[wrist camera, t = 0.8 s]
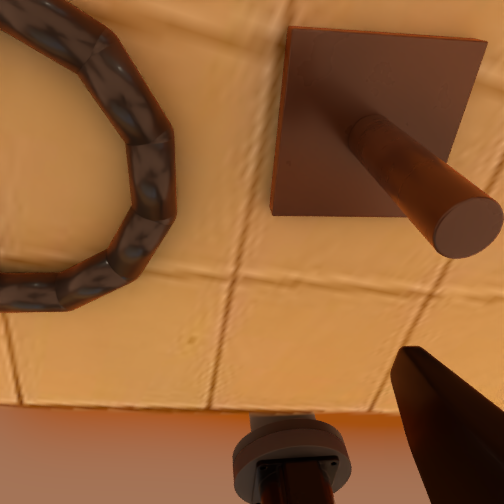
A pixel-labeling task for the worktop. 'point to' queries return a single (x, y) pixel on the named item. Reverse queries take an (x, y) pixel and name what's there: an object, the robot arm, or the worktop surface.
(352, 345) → the worktop surface
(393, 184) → the post
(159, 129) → the ring
